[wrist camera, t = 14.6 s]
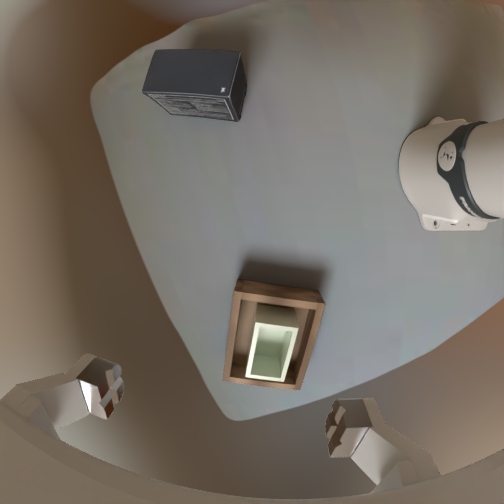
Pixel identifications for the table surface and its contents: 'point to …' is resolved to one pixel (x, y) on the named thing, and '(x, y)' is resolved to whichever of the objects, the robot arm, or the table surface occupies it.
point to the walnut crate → (241, 324)
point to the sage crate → (271, 342)
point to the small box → (197, 83)
